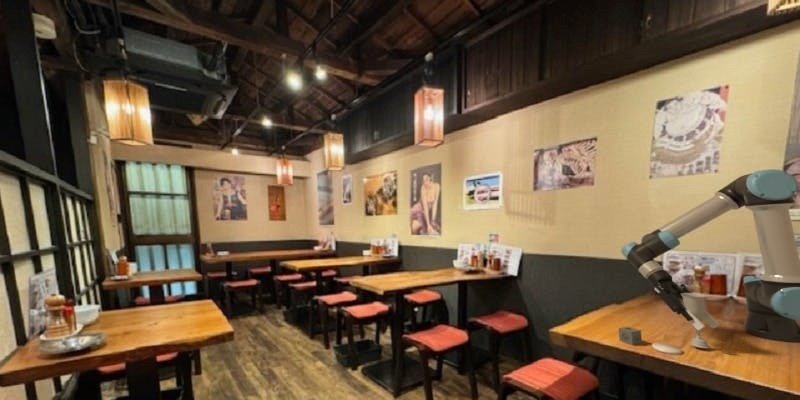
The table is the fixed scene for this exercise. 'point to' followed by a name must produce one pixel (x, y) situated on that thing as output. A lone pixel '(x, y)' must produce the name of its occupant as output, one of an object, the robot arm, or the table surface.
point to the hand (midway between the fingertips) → (709, 327)
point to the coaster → (667, 348)
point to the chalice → (696, 314)
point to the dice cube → (630, 335)
